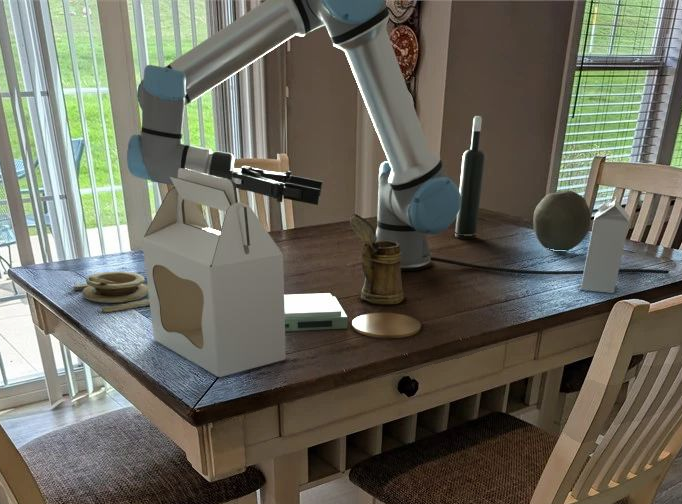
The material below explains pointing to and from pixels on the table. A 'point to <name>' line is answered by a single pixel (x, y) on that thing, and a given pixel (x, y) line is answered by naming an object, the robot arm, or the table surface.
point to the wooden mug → (379, 265)
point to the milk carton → (605, 248)
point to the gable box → (214, 279)
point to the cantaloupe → (561, 220)
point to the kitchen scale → (313, 312)
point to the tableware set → (115, 290)
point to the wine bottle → (470, 185)
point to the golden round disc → (386, 325)
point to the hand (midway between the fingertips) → (320, 192)
